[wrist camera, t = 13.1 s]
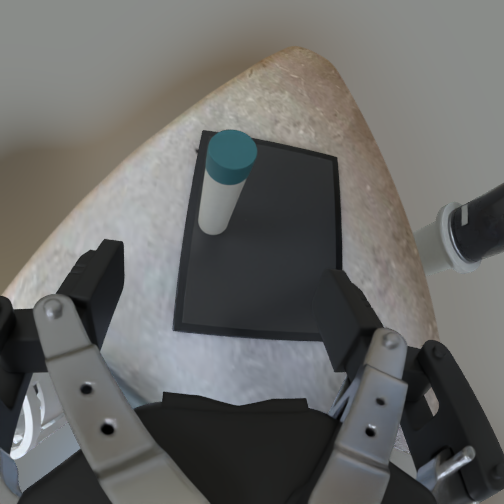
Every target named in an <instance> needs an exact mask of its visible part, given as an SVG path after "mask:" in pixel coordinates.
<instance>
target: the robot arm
mask: <svg viewBox="0 0 504 504" xmlns="http://www.w3.org/2000/svg"><path fill="white" fill-rule="evenodd" d="M448 232H449V237H450V241H451V243H452V246H453V248H454V250H455V252H456V254H457V255H458V256H459V258H460V259H461V260H462V261H464V262H465V263H467V264H472V263H475V262H477V261H479V260H482V259H485V258H488V257H491V256H494V255H497V254H499V253H502V252H504V183H502V184H501V185H499V186H497V187H495V188H494V189H492V190H490V191H488V192H487V193H485V194H483V195H481V196H479V197H477V198H476V199H474V200H472V201H470V202H468V203H466V204H465V205H463V206H461V207H459V208H456V209H454V210H452V211H451V213H450V214H449V218H448ZM123 286H124V244H123V242H122V241H116V240H109V239H104V240H103V241H102V243H101V244H100V246H99V247H98V249H97V250H96V251H95V250H89V251H88V252H86V253H85V254H83V255H82V256H80V258H79V259H78V261H77V262H76V264H75V266H73V268H72V269H71V272H69V274H68V275H67V277H66V278H65V280H64V282H63V283H62V285H61V286H60V288H59V289H58V291H57V292H56V294H51V295H47V296H45V297H43V298H41V299H40V300H39V301H37V303H36V304H35V306H34V308H33V309H13V307H12V304H11V302H10V300H9V299H8V298H6V297H4V296H0V504H479V503H480V502H482V501H484V500H486V499H487V498H489V497H491V496H493V495H494V494H496V493H498V492H499V491H501V490H502V489H504V454H503V451H502V449H501V447H500V444H499V442H498V440H497V438H496V436H495V434H494V431H493V429H492V427H491V425H490V423H489V421H488V419H487V417H486V415H485V413H484V411H483V409H482V407H481V405H480V403H479V402H478V400H477V398H476V396H475V394H474V392H473V390H472V389H471V387H470V385H469V383H468V381H467V380H466V378H465V376H464V375H463V373H462V371H461V369H460V368H459V366H458V364H457V363H456V361H455V359H454V358H453V356H452V354H451V353H450V351H449V350H448V349H447V348H446V347H445V346H444V345H443V344H442V343H440V342H438V341H435V340H428V341H426V342H425V344H424V345H423V347H422V348H421V349H418V348H414V347H410V346H407V343H406V341H405V339H404V338H403V337H402V336H401V335H400V334H399V333H398V332H396V331H394V330H392V329H389V328H384V327H383V325H382V323H381V322H380V320H379V318H378V317H377V315H376V313H375V312H374V310H373V308H371V305H370V303H369V302H368V301H367V299H366V297H365V295H364V294H363V292H362V291H361V290H360V289H359V288H358V287H357V286H356V285H354V284H353V283H351V281H350V279H349V278H348V276H347V274H346V273H345V272H344V271H343V270H335V269H325V270H324V272H323V274H322V277H321V279H320V282H319V284H318V287H317V289H316V292H315V295H314V297H313V300H312V314H313V316H314V319H315V321H316V324H317V327H318V329H319V332H320V335H321V337H322V340H323V342H324V345H325V348H326V350H327V353H328V356H329V359H330V361H331V364H332V367H333V369H334V372H346V373H347V377H346V378H345V380H344V381H343V384H342V386H341V388H340V390H339V392H338V394H337V396H336V399H335V401H334V403H333V405H332V407H331V409H330V411H329V413H328V414H326V413H323V412H321V411H318V410H314V409H311V408H308V404H307V400H306V398H295V399H270V400H266V401H261V402H257V403H252V404H247V405H241V406H236V405H232V404H228V403H224V402H220V401H217V400H213V399H210V398H206V397H203V396H199V395H188V394H179V393H170V392H163V398H162V402H155V403H150V404H145V405H142V406H139V407H137V408H134V409H133V408H132V407H131V405H130V404H129V402H128V400H127V399H126V397H125V396H124V394H123V392H122V391H121V389H120V387H119V386H118V384H117V382H116V380H115V379H114V377H113V375H112V373H111V372H110V370H109V368H108V366H107V364H106V362H105V361H104V359H103V357H102V355H101V353H100V350H101V347H102V344H103V341H104V339H105V336H106V333H107V330H108V327H109V324H110V322H111V319H112V316H113V314H114V311H115V308H116V306H117V303H118V301H119V298H120V296H121V293H122V290H123ZM47 372H49V375H50V378H51V381H52V384H53V386H54V389H55V392H56V394H57V397H58V399H59V402H60V404H61V407H62V409H63V411H64V414H65V416H66V418H67V421H68V423H69V425H70V427H71V429H72V431H73V434H74V436H75V438H76V440H77V442H78V444H79V446H80V448H81V449H79V450H78V451H77V452H76V453H74V454H73V455H72V456H70V457H69V458H68V459H67V460H65V461H64V462H63V463H61V464H60V465H59V466H57V467H56V468H55V469H53V470H52V471H51V472H49V473H48V474H46V475H45V476H44V477H42V478H41V479H40V480H38V481H37V482H36V483H34V484H33V485H31V486H30V487H29V488H27V489H26V490H25V491H24V492H23V493H22V492H21V490H20V487H19V483H18V482H19V481H18V469H17V466H16V464H15V462H14V460H13V459H12V458H11V456H10V452H11V447H12V442H13V438H14V434H15V430H16V427H17V423H18V419H19V416H20V412H21V409H22V405H23V402H24V399H25V396H26V393H27V390H28V387H29V384H30V381H31V378H32V375H33V373H47ZM431 387H432V389H433V391H434V393H435V395H436V397H437V399H438V401H439V409H438V412H437V413H436V415H435V416H434V417H433V415H432V412H431V410H430V408H429V406H428V403H427V401H426V399H425V397H424V394H425V393H426V392H427V391H428V390H429V389H430V388H431ZM399 425H401V428H402V431H403V433H404V436H405V439H406V442H407V445H408V448H409V451H410V453H411V456H412V459H413V462H414V465H415V468H416V472H417V475H416V479H414V478H413V477H411V476H410V475H409V474H407V473H406V472H404V471H403V470H402V469H400V468H399V467H398V466H396V465H395V464H393V463H392V462H391V461H390V457H391V454H392V451H393V447H394V444H395V440H396V436H397V433H398V429H399Z"/></svg>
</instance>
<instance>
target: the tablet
mask: <svg viewBox="0 0 504 504" xmlns="http://www.w3.org/2000/svg"><path fill="white" fill-rule="evenodd" d="M217 133H218V132H212V131H205V130H203V131H202V136H201V140H200V145H199V150H198V155H197V161H196V166H195V171H194V176H193V182H192V188H191V193H190V199H189V205H188V211H187V218H186V224H185V230H184V237H183V244H182V251H181V259H180V266H179V274H178V282H177V291H176V300H175V309H174V319H173V331H180V332H188V333H197V334H207V335H217V336H229V337H241V338H255V339H272V340H293V341H323V340H322V337H321V335H320V332H319V329H318V327H317V324H316V321H315V319H314V316H313V314H312V300H313V297H314V295H315V292H316V289H317V287H318V284H319V282H320V279H321V277H322V274H323V272H324V270H325V269H335V270H342V229H341V205H340V187H339V173H338V160H337V157H334V156H330V155H326V154H323V153H319V152H314V151H310V150H306V149H302V148H298V147H293V146H289V145H284V144H279V143H275V142H270V141H265V140H260V139H254V138H252V139H253V141H254V142H255V144H256V147H257V157H256V159H255V162H254V164H253V166H252V169H251V171H250V174H249V175H248V177H247V179H246V181H245V183H244V186H243V188H242V191H241V193H240V195H239V198H238V200H237V203H236V205H235V208H234V210H233V213H232V215H231V217H230V220H229V222H228V225H227V227H226V229H225V230H224V231H223V232H222V233H220V234H217V235H210V234H207V233H205V232H204V231H202V229H201V228H200V226H199V223H198V218H199V210H200V203H201V196H202V189H203V182H204V175H205V169H206V157H207V151H208V145H209V142H210V140H211V138H212V137H213V136H214V135H215V134H217Z"/></svg>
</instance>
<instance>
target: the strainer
mask: <svg viewBox="0 0 504 504" xmlns="http://www.w3.org/2000/svg"><path fill="white" fill-rule="evenodd" d="M40 406H41V410H40ZM66 423H68V421H67V418H66V416H65V414H64V411H63V409H62V407H61V404H60V402H59V399H58V397H57V394H56V392H55V389H54V386H53V384H52V381H51V378H50V375H49V372H47V373H33V375H32V378H31V381H30V384H29V387H28V390H27V393H26V396H25V399H24V402H23V405H22V409H21V412H20V416H19V419H18V423H17V427H16V430H15V434H14V438H13V441H14V442H15V443H17V442H19V441H20V440H22V439H23V440H22V442H21V444H20V446H19V447H11V452H10V456H11V458H12V459H13V460H15V459H18V458H20V457H22V456H23V455H24V454H25V453H27V452H28V451H30V450H31V449H32V448H34V447H35V446H37V445H38V444H39V443H41V442H42V441H44V440H45V439H46V438H48V437H49V436H50V435H52V434H53V433H54V432H56V431H57V430H58V429H60V428H61V427H62V426H64V425H65V424H66ZM41 428H44V430H43V431H41ZM40 431H41V432H40Z"/></svg>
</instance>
